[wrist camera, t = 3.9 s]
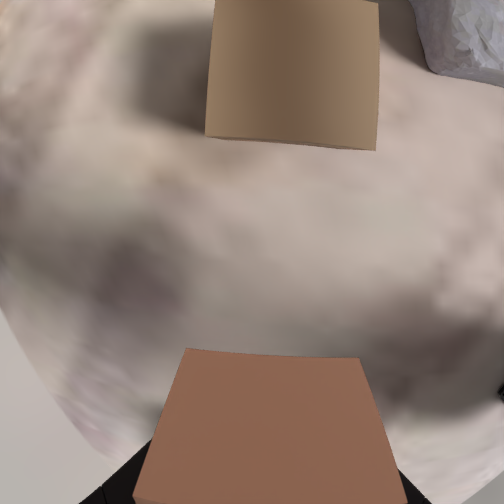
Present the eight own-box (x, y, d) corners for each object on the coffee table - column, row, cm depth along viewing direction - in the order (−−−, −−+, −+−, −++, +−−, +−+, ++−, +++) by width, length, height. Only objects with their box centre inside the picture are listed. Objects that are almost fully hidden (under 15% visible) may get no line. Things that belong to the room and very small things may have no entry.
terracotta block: (358, 357, 9) (407, 502, 4) (326, 456, 10) (340, 568, 6) (186, 348, 9) (132, 495, 4) (195, 449, 10) (170, 561, 6)
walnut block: (344, 45, 12) (378, 3, 7) (339, 149, 14) (375, 150, 9) (232, 35, 12) (216, -13, 7) (226, 140, 14) (204, 135, 9)
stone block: (372, -50, 11) (423, 91, 12) (394, -101, 6) (477, 51, 7) (512, -7, 11) (559, 116, 12) (545, -34, 6) (607, 104, 7)
